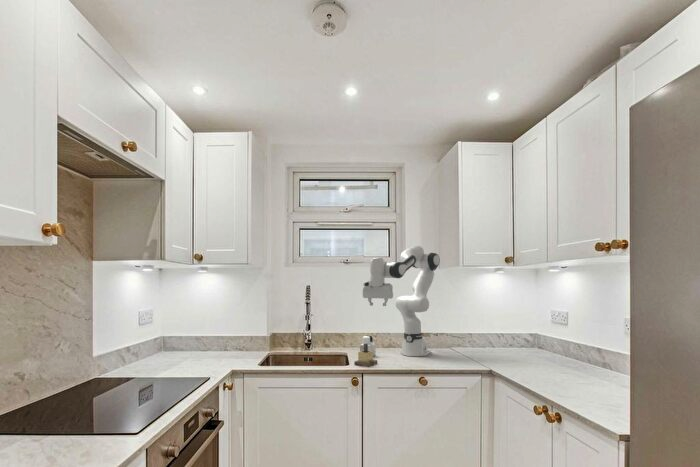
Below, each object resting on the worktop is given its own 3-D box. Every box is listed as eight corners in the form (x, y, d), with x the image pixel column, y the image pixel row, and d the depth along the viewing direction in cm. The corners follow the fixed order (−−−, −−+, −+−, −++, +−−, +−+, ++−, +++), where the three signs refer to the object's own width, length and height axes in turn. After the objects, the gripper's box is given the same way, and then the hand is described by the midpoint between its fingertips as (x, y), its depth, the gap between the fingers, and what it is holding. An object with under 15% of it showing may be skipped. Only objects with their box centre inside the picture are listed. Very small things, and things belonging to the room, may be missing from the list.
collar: (363, 358, 249) (363, 350, 250) (372, 359, 246) (372, 351, 246) (358, 360, 244) (358, 351, 245) (367, 361, 241) (367, 352, 241)
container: (365, 354, 275) (365, 334, 276) (375, 355, 271) (375, 335, 272) (359, 356, 268) (359, 336, 270) (370, 357, 264) (369, 337, 266)
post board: (363, 361, 252) (362, 341, 253) (377, 363, 246) (376, 343, 247) (354, 364, 243) (354, 344, 245) (368, 366, 238) (368, 345, 239)
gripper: (394, 283, 252) (395, 305, 250) (366, 283, 263) (366, 304, 262) (389, 283, 247) (390, 306, 245) (361, 283, 258) (361, 305, 256)
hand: (377, 305), depth 253 cm, fingers open, 8 cm apart
